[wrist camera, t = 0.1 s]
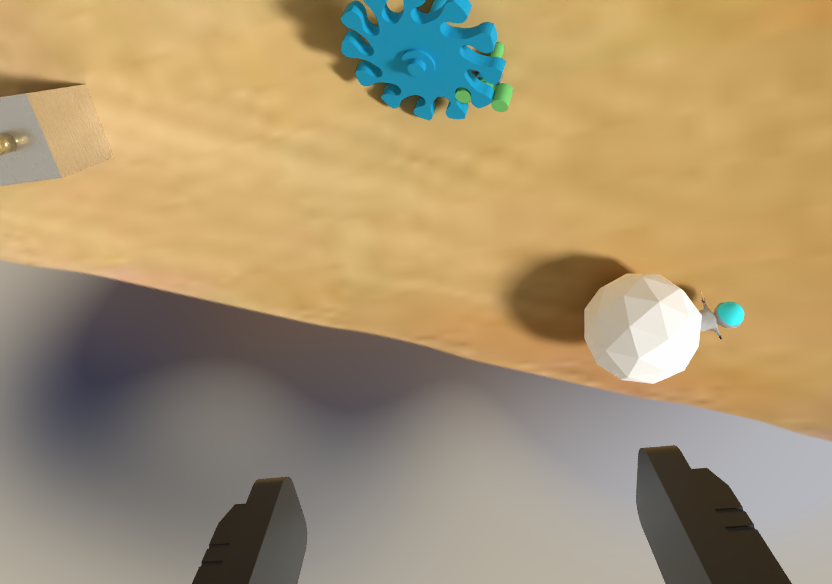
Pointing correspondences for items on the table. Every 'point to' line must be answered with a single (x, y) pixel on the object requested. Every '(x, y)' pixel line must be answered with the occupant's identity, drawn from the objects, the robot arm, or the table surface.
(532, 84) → the table surface
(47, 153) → the block
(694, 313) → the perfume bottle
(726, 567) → the robot arm
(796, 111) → the table surface
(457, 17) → the gear
